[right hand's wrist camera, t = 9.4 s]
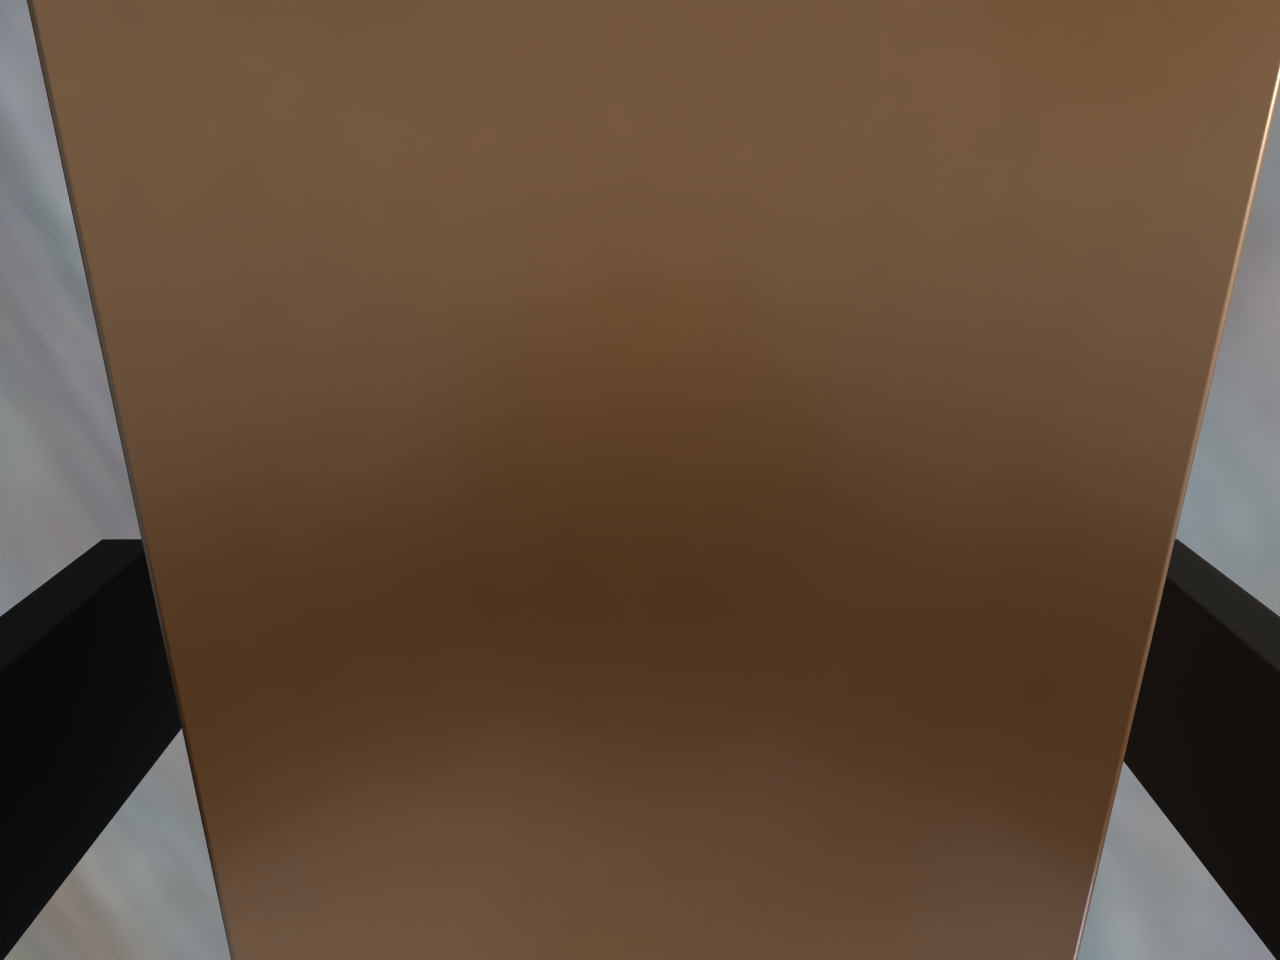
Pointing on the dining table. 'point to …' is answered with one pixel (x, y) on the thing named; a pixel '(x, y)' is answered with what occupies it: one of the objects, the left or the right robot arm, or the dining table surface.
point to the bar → (658, 448)
